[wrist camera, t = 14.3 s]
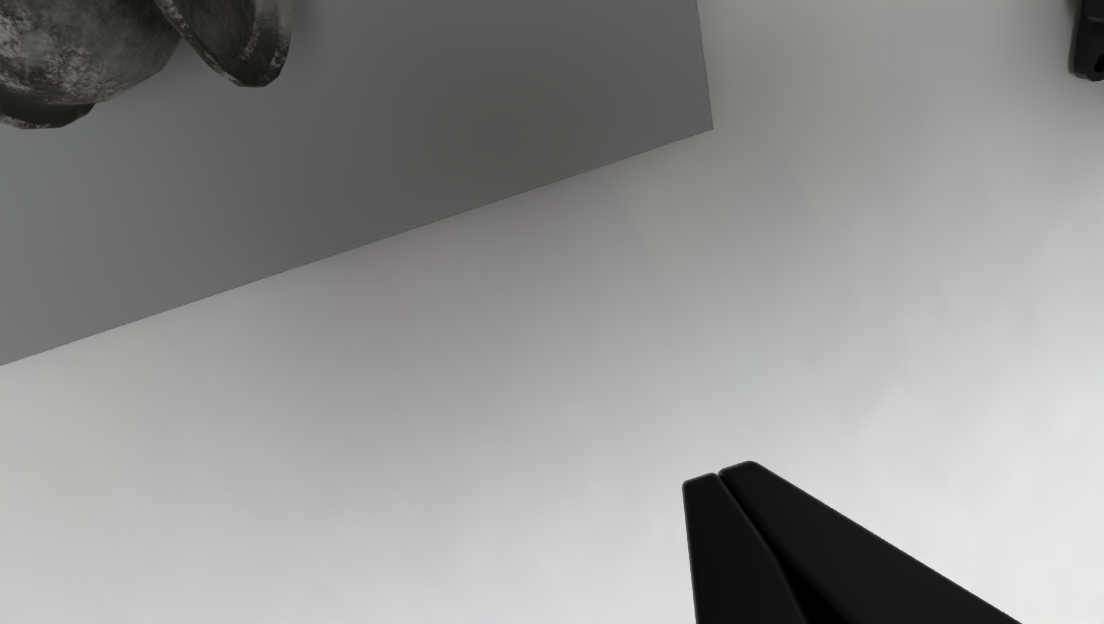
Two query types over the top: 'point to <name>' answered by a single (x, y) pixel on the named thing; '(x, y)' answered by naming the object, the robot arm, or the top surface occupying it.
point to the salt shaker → (126, 49)
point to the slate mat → (327, 148)
